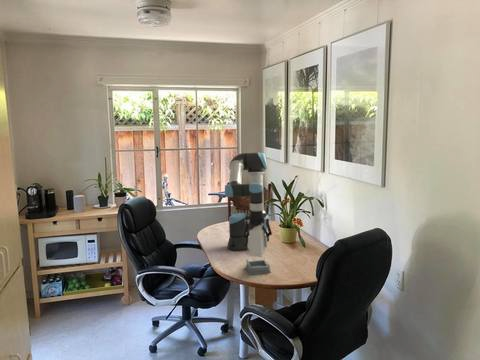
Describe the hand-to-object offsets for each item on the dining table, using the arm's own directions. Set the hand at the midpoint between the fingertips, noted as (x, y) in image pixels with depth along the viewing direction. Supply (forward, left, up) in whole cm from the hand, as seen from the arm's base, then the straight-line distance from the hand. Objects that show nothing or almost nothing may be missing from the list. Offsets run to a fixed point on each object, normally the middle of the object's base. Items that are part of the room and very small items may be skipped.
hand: (257, 247), depth 221 cm
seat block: (0, 0, -13) cm, 13 cm away
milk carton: (0, 0, -4) cm, 4 cm away
